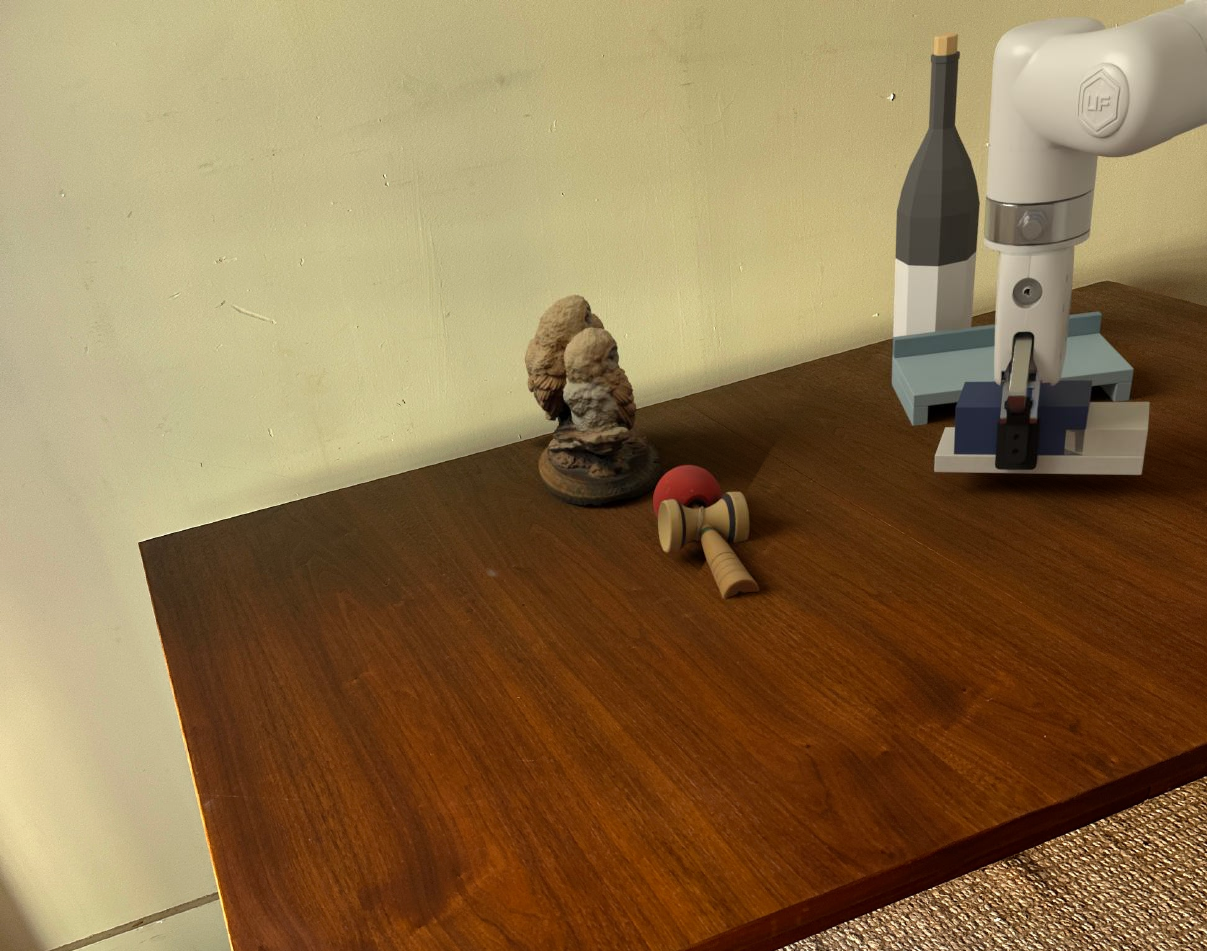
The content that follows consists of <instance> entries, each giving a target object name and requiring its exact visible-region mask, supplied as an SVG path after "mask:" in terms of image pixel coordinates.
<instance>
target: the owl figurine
mask: <svg viewBox="0 0 1207 951" xmlns="http://www.w3.org/2000/svg"><path fill="white" fill-rule="evenodd" d="M618 349H619V347H618V342H617V341H616V339H615V338H614V336H612V333H610V331H608V330H606V329H605V326H604V323H603V321H602V320H601V318H599V316H598V315H597V314H595V313H592V309H591V304H590V303H589V301H588V300H586V299H585V297H584V296H580V295H579V294H578V295H576V294H572V295H566V296H565V297H562V298H560V299H558V300H557V301H555V302H554V303H553V304H552V305H551V306H549V307H548V309H546V310H545V311H544V313H543V314H542V316H541V317H539V322H538V325H537V328H536V330H535V334H534V337H533V338H531V339H530V340H529V342H528V344H527V346H526V350H525V356H524V363H525V368H526V372H527V376H528V378H527V383H526V384H527V389H528V391H529V392H530V393H533V396H534V399H535V401H536V402H537V404H538V406H539V407H540V408H541V410H543V412H545V415H544V416H545V417H544V418H545V419H546V420H548V421H552V422H556V420H557V422H558V424H557V425H556V428H555V429H554V433H553V439H552V440H550V442H549V444H548V446H546V448H545V449H544V450H543V451H542V452H541V454H540V456H539V460H538V472H539V478H540V480H541V482H542V484H543V485H544V487H545V488H546V490H547V492H548V493H549V494H551V495H552V496H553V497H555V498H557V499H559V500H561V501H563V502H566V503H569V504H572V505H576V506H588V505H590V504H592V505H593V506H597V505H598V506H599V507H601V506H602V504H608V503H611V502H616V501H620V500H623V499H632V498H637V497H642V496H643V495H645V494H646V493H648V492H650V491H651V490H653V488H654V487H656V485H657V484H658V482H659V479H660V476H661V474H662V473H661V468H662V465H661V457H660V454H659V452H658V450H657V449H656V447H655V446H654V445H653V443H651V442H650V441H649V440H648V438H647V437H646V436H642V435H641V434H640V433H639V432H638V430H637V429H636V428H635V427H634V425H635V423H636V422H635V421H636V412H637V411H638V409H637V404H636V403H635V396H634V393H633V392H634V389H633V385H632V383H631V382H630V380H629V377H628V375H627V374H626V370H625V369H623V368H622V367H621V366H620V364H619V361H620V355H619V352H618ZM596 455H601V456H604V457H602V458H601V457H598V456H596Z"/></svg>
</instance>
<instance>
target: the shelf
mask: <svg viewBox="0 0 1207 951" xmlns="http://www.w3.org/2000/svg"><path fill="white" fill-rule="evenodd" d="M1102 319H1103V314H1102V313H1101V312H1100V311H1098V310H1097V311H1092V312H1083V313H1075V314H1070V315H1069V325H1068V337H1067V350H1066V356H1065V361H1064V366H1063V371H1062V375H1061V379H1060V381H1076V380H1092V387H1095V386H1099V387H1100V388H1101V389H1102V390H1103V391H1104V393H1105V394H1107V396H1108V397H1109V398H1110V400H1112V402H1127V401H1130V397H1131V389H1132V384H1133V383H1132V382H1133V377H1134V370H1135V369H1134V367H1132V365H1131V364H1130V363H1129V362H1128V361H1127V360H1126V359H1125V358H1124V357H1123V356H1122V354H1120V353H1119V352H1118V351H1117V350H1116V349H1115V347H1113V346H1112V345H1111V344H1110V342H1108V341H1107V339H1106V338H1105V337H1104V336H1103V335H1102V334H1101V328H1102V327H1101V325H1102ZM994 347H995V323H994V324H987V325H986V324H985V325H978V326H971V327H969V328H961V329H953V330H945V331H937V332H929V333H921V334H913V335H905V336H897V337H893V336H892V357H891V358H892V359H891V361H892V362H891V366H892V367H891V386H892V388H893V390H894V392H895V394H896V396H897V398H898V400H899V402H900V404H901V405H902V408H903V409H904V412H905V414H906V416H907V418H908V420H909V421H910V423H911V425H912V426H921V425H927V424H928V417H929V407H931V406H937V405H945V404H953V403H958V400H959V397H960V394H961V391H962V389H963V386H964V383H965V382H993V381H995V380H994ZM1010 380H1011V374H1010Z"/></svg>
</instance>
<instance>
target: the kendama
mask: <svg viewBox="0 0 1207 951" xmlns="http://www.w3.org/2000/svg"><path fill="white" fill-rule="evenodd" d="M652 507H653V512H654V515H655V517H656V519H657V529H658V537H659V543H660V546H661V549H662V550H663V552H664V553H666V554H677V553H679V552H680V551H681V549H683V548H684V547H685V546H686V545H687V544H688V543H690V542H693V541H697V542H701V546H702V549H703V553H704V556H705V559H706V562H707V564H708V567H709V569H710V571H711V574H712V577H713V579H714V581H715V583H716V585H717V588H718V589H719V592H720V595H721V598H722V599H723V600H727V599H728V598H730V597H733V596H735V595H738V593H739V594H744V593H749V592H750V593H751V592H753V593H755V592H756V593H757V592H760V587H759V585H758V583H757V581H755V579H754V578H753V576H751V574H750V573H749V571H748V570H747V569H746V567H745V566H744V564H743V563H742V561H741V560H740V559H739V557H738V556H737V554H736V552H734V550H733V549H732V548H731V546H730V545H729V543H728V542H731V543H740V542H745V541H748V539H749V534H750V512H749V506H748V504H747V499H746V497H745V496H744V494H743V493H742V492H741V491H728V492H725V493H724V494H723V493H722V490H721V486H720V484H719V483H718V480H717V479H716V478H715V477H714V475H713V474H712V473H711V472H709V471H708V470H707V469H705V468H703V467H701V466H697V465H693V464H684V465H679V466H676V467H674V468H672V469H670V470H669V471H667V472H666V473H664V474H663V476H662V477H661V478H659V480H658V481H657V483H656V485H655V489H654V492H653V498H652Z"/></svg>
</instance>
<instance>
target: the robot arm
mask: <svg viewBox="0 0 1207 951" xmlns="http://www.w3.org/2000/svg"><path fill="white" fill-rule="evenodd" d="M991 74H992V75H991V93H990V112H989V131H988V133H989V134H988V150H987V169H986V170H987V171H986V172H987V173H986V188H985V189H986V192H985V195H986V196H985V210H984V228H983V245H984V246H985V247H986V248H987V249H989V250H992V251H995V252H998V265H997V280H996V296H995V315H994V316H995V317H994V320H995V321H994V324H995V347H994V380H995V382H996V383H997V384H998V385H999V386H1002V385H1003V394H1002V404H1001V414H1000V419H998V425H997V441H996V456H995V467H996V468H997V469H1000V470H1033V469H1035V468H1036V465H1037V457H1038V445H1039V433H1040V422H1041V419H1037V415H1038V406H1039V396H1040V388H1041V381H1042V383H1050V386H1054V385H1056V384H1057V383H1058V382H1059V381H1060V379H1061V375H1062V371H1063V366H1064V361H1065V356H1066V350H1067V337H1068V325H1069V315H1071V312H1070V311H1071V303H1072V293H1073V283H1074V282H1073V281H1074V268H1075V267H1074V266H1075V246H1078V245H1080V244H1082V243H1084V242H1086V241H1087V240H1088V239H1089V238H1090V236H1091V227H1092V226H1091V225H1092V217H1093V216H1092V215H1093V206H1094V196H1095V189H1096V188H1095V187H1096V178H1097V168H1098V159H1099V157H1102V158H1125V157H1129V156H1130V157H1131V156H1133V155H1136V154H1137V155H1138V154H1140V153H1142V152H1145V151H1147V150H1149V149H1152V148H1155V147H1156V146H1159V145H1161V144H1164V143H1166V142H1168V141H1171V140H1172V139H1173V138H1175V137H1177V136H1180V135H1182V134H1185V133H1188V132H1189V131H1192V130H1195V129H1197V128H1199V127H1202V126H1205V125H1207V0H1184V3H1182V4H1179V5H1176V6H1172V7H1169V8H1167V9H1163V10H1160V11H1158V12H1154V13H1151V14H1149V15H1146V16H1144V17H1142V18H1140V19H1137V20H1133V21H1130V22H1127V23H1124V24H1121V25H1117V26H1113V27H1109V28H1107V27H1106V26H1105V24H1103V23H1102V22H1101V21H1100V20H1098V19H1095V18H1092V17H1088V16H1087V17H1086V16H1085V17H1084V16H1067V17H1055V18H1047V19H1042V20H1037V21H1032V22H1027V23H1024V24H1020V25H1017V26H1015V27H1013V28H1011V29H1009V30H1008V31H1006V32H1005V33H1004V34H1003V35H1002V36H1001V37H1000V39H999V41H998V42H997V44H996V47H995V50H994V53H993V62H992V73H991ZM1010 374H1011V380H1010ZM1003 382H1004V383H1003ZM1027 389H1033V390H1032V400H1031V398H1030V397H1027Z"/></svg>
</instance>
